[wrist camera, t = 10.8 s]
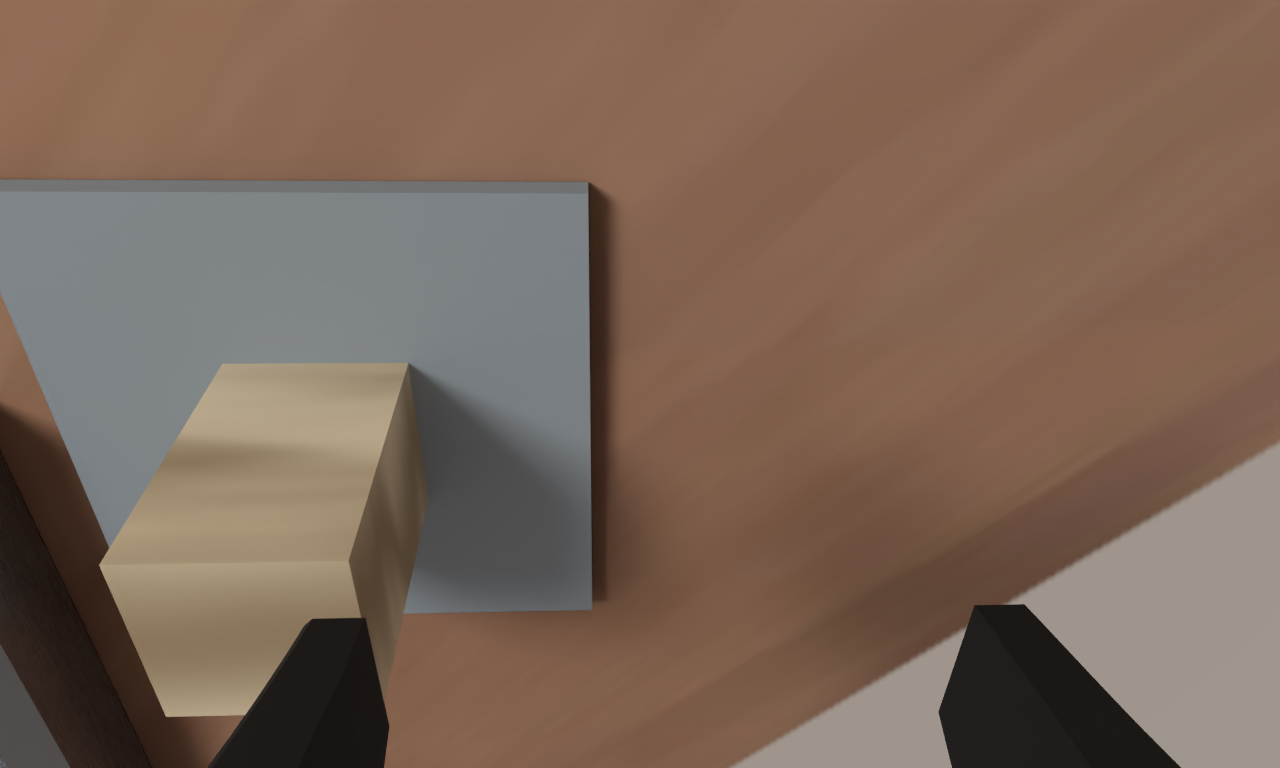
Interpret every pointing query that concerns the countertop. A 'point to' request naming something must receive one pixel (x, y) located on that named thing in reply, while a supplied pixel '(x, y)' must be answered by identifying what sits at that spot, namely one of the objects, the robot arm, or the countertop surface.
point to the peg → (272, 528)
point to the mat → (331, 343)
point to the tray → (50, 662)
